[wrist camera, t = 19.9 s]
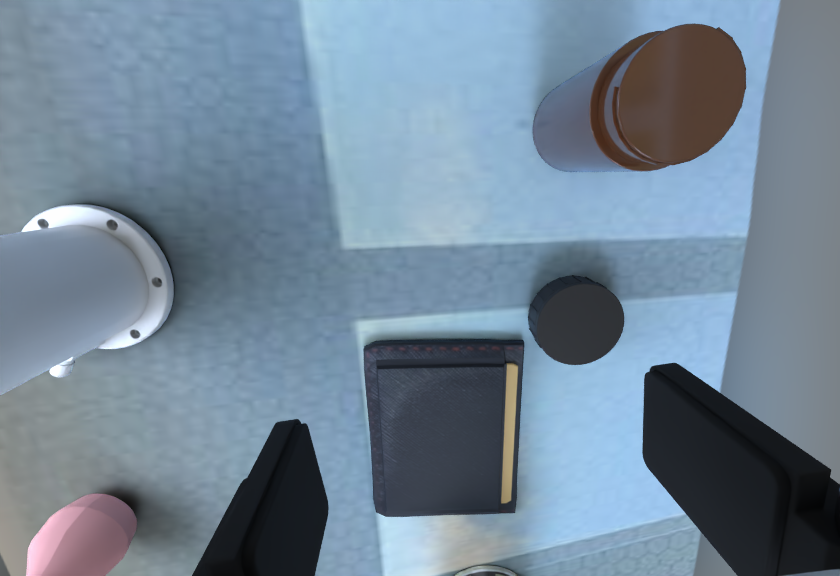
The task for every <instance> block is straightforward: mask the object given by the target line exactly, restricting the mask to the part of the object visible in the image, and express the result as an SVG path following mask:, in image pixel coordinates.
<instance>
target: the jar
mask: <svg viewBox="0 0 840 576" xmlns="http://www.w3.org/2000/svg"><path fill="white" fill-rule="evenodd" d="M741 53H742V52H741V51H740V49H739V48H738V46H737V45H736V43H735V42H734V40H733V38H732V37H731V36H730V35H728V34H727V33H726V32H724V31H723V30H722V29H721V28H719V27H718V28H717V29H715V28H713V27H711V26H707V25H703V24H684V25H679V26H675V27H672V28H669V29H667V30H665V31H655V32H650V33H647V34H644V35H641V36H639V37H637V38H635V39H633V40H631V41H629V42H628V43H626V44H624V45H623V46H621V47H620V48H618V49H616V50H615V51H613V52H611V53H610V54H608V55H607V56H605V57H603V58H602V59H600V60H599V61H597V62H595V63H594V64H592V65H591V66H589V67H587V68H586V69H584V70H583V71H581V72H579V73H578V74H576V75H575V76H573V77H571V78H570V79H568V80H567V81H565V82H563V83H562V84H560V85H559V86H557V87H556V88H554V89H553V90H552V91H551V92H549V93H548V94H547V96H546V97H545V98H544V99H543V101H542V102H541V104H540V105H539V107H538V109H537V112H536V114H535V118H534V123H533V139H534V144H535V146H536V149H537V151H538V153H539V155H540V156H541V158H542V159H543V160H544V161H545V162H546V163H547V164H548V165H550V166H551V167H553V168H555V169H557V170H560V171H564V172H634V171H653V170H658V169H661V168H664V167H667V166H669V165H676V164H680V163H684V162H688V161H691V160H693V159H695V158H697V157H699V156H700V155H702V154H704V153H706V152H707V151H709V150H710V149H711V148H712V147H713V146H714V145H716V144H717V143H718V142H719V141H721V139H722V138H723V137H724V135H725V134H726V133H727V131H728V130H729V129H730V127H731V126H732V125H733V123H734V121H735V119H736V117H737V115H738V113H739V111H740V108H741V107H742V103H743V98H744V93H745V89H746V68H745V64H744V61H743V57H742V54H741Z"/></svg>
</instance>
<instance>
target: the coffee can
mask: <svg viewBox="0 0 840 576" xmlns="http://www.w3.org/2000/svg"><path fill="white" fill-rule="evenodd" d="M454 576H518V575H517V574H515V573H514V572H512V571H510V570H508V569H505V568H503V567H498V566H489V565H484V566H475V567H471V568H468V569H465V570H463V571H460V572H459V573H457V574H456V575H454Z"/></svg>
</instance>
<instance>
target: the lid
mask: <svg viewBox="0 0 840 576" xmlns="http://www.w3.org/2000/svg"><path fill="white" fill-rule="evenodd" d="M528 321H529V327H530V328H529V329H530V331H531V332H532V334H533V336H534V338H535V341H536V342H537V343H538V345H539V346H540V348H542V349H543V350H544V351H545V353H546V354H547V355H549V356H550V357H551V358H553V359H554V360H556V361H558V362H561V363H564V364H569V365H582V364H587V363H590V362H593V361H596V360H598V359H600V358H601V357H603V356H604V355H606V354H607V353H608V352H609V351H610V350H611V349H612V348H613V347H614V346H615V345H616V343H617V342H618V340H619V338H620V336H621V334H622V331H623V327H624V312H623V308H622V306H621V304H620V302H619V300H618V299H617V297H616V296H615V295H614V294H613V293H612V292H610V291H609V290H608V289H607V288H606V287H604V286H603V285H601V284H599V283H598V282H594V281H593V280H591V279H589V278H587V277H581V276H574V275H572V276H566V277H562V278H559V279H556V280H554V281H552V282H550V283H549V284H547V285H546V286H544V287H543V288H542V289H541V290H540V291H539V292H538V293H537V295H536V296H535V298H534V299H533V301H532V304H531V305H530V309H529V316H528Z"/></svg>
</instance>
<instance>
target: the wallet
mask: <svg viewBox="0 0 840 576" xmlns="http://www.w3.org/2000/svg"><path fill="white" fill-rule="evenodd" d="M523 358H524V341H523V340H491V339H455V340H388V341H375V342H372V343H370V344H368V345H366V346H364V372H365V385H366V396H367V407H368V417H369V428H370V440H371V457H372V475H373V500H374V504H375V509H376V512H377V513H379V514H381V515H384V516H386V517H409V516H433V515H469V514H499V513H515V508H516V500H517V467H518V448H519V430H520V412H521V394H522V376H523Z"/></svg>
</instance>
